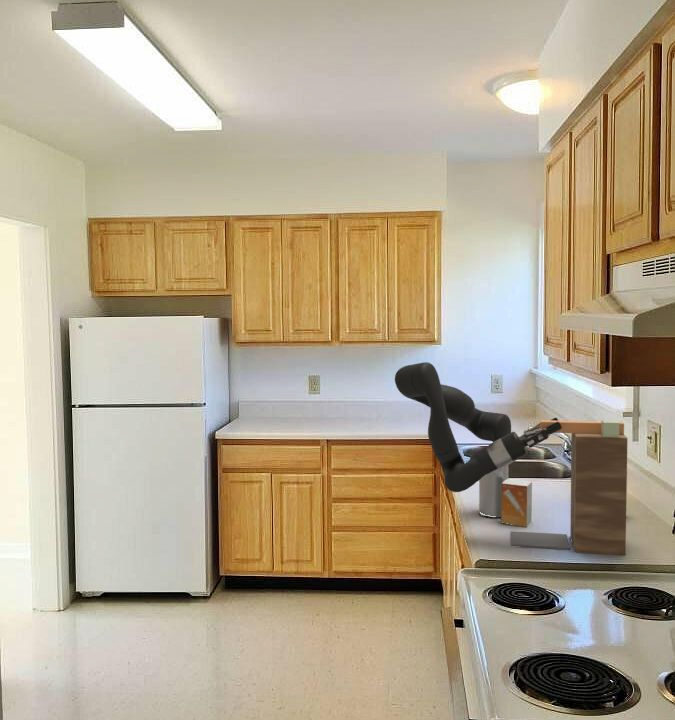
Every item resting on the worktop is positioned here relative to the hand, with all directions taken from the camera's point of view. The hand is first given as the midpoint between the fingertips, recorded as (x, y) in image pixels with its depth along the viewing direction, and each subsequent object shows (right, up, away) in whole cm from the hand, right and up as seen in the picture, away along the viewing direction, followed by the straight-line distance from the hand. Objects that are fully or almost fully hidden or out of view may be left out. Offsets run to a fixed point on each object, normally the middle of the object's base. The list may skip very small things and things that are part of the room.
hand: (559, 422), depth 201 cm
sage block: (+12, -3, -7) cm, 14 cm away
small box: (-7, -33, +22) cm, 40 cm away
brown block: (+6, -3, -1) cm, 7 cm away
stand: (+11, -35, 0) cm, 36 cm away
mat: (-4, -34, +4) cm, 35 cm away
